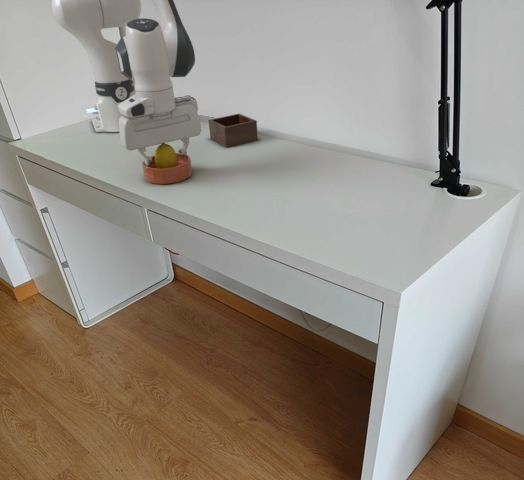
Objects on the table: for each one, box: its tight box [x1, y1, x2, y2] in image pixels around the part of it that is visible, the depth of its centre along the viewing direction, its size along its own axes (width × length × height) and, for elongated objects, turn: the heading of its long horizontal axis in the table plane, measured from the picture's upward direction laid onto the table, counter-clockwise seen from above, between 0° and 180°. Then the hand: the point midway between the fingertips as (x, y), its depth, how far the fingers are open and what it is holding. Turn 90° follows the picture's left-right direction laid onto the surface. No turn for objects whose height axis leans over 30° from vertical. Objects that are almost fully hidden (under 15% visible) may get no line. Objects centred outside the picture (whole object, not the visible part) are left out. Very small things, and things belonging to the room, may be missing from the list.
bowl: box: [141, 152, 193, 185], centre depth 128 cm, size 12×12×4 cm
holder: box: [208, 113, 259, 148], centre depth 149 cm, size 11×11×6 cm
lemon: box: [154, 143, 177, 169], centre depth 127 cm, size 6×6×8 cm
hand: (166, 160), depth 127 cm, fingers open, 8 cm apart
